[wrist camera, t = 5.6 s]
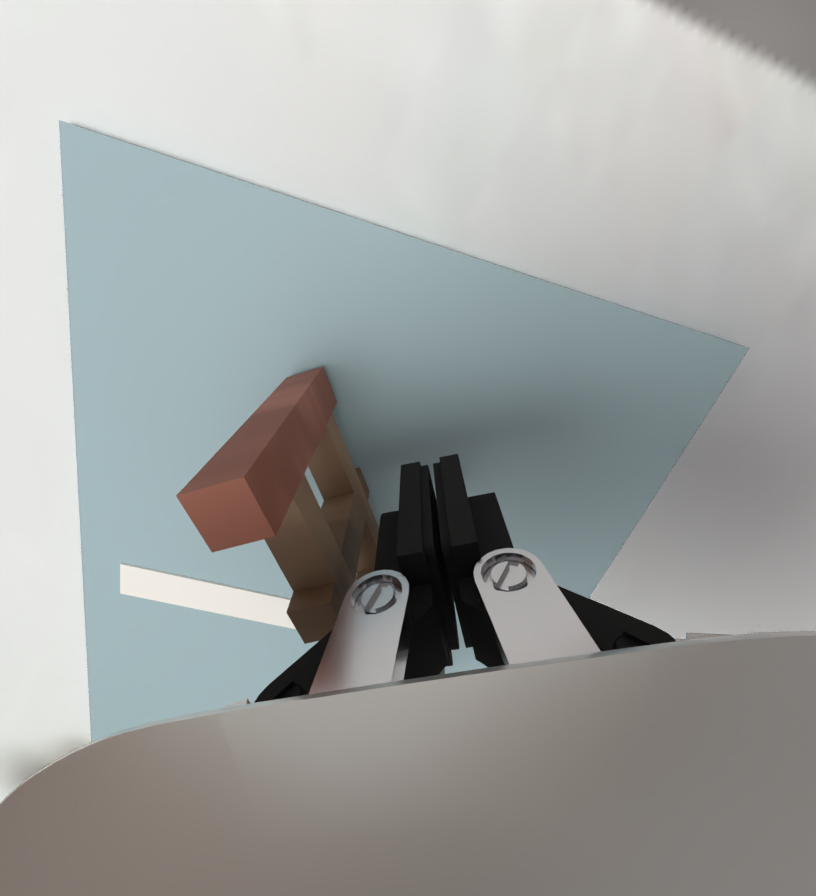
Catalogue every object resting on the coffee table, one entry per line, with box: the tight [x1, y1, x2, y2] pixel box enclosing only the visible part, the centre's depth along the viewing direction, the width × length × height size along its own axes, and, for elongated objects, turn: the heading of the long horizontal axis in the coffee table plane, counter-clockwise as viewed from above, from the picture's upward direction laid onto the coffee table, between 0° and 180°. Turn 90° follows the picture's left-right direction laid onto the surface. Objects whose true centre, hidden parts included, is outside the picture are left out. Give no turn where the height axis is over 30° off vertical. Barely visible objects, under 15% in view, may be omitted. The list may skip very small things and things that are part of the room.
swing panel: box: [176, 366, 379, 644], centre depth 12 cm, size 11×1×7 cm, turn 17°
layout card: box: [59, 120, 749, 742], centre depth 17 cm, size 20×27×1 cm
